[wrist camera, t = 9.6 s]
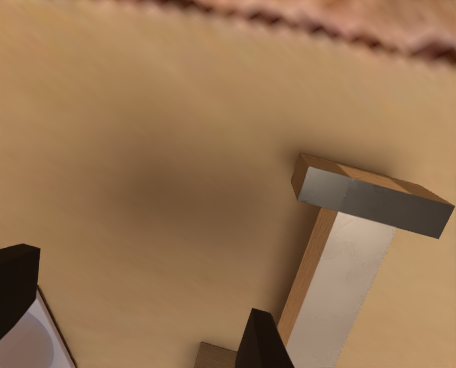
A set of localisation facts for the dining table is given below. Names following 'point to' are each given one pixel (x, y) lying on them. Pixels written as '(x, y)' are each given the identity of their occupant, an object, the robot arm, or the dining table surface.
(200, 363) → the bearing block
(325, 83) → the dining table surface
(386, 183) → the shaft
